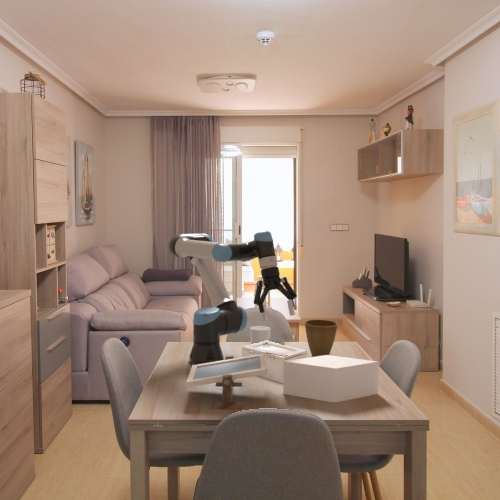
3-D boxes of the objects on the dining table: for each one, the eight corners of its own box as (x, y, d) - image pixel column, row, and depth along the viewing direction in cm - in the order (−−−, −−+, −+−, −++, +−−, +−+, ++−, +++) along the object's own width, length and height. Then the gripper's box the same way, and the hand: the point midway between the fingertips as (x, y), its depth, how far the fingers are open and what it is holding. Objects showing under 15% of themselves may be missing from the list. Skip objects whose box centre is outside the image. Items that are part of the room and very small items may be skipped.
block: (280, 386, 201) (281, 354, 200) (371, 386, 202) (372, 355, 202) (285, 402, 184) (285, 368, 183) (384, 403, 185) (385, 368, 184)
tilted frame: (187, 388, 180) (186, 382, 179) (193, 369, 201) (192, 364, 201) (268, 375, 180) (267, 369, 179) (265, 357, 201) (264, 352, 201)
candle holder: (263, 357, 241) (264, 331, 240) (245, 353, 246) (245, 328, 246) (274, 352, 250) (274, 327, 249) (256, 349, 255) (256, 324, 254)
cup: (274, 359, 237) (274, 337, 237) (288, 363, 232) (288, 341, 231) (262, 363, 232) (262, 340, 231) (275, 367, 226) (275, 344, 225)
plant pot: (300, 359, 239) (300, 324, 237) (309, 351, 252) (309, 318, 251) (332, 362, 233) (333, 327, 232) (339, 354, 247) (340, 321, 246)
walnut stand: (212, 408, 177) (212, 376, 176) (216, 382, 204) (216, 354, 204) (241, 408, 177) (241, 377, 177) (241, 382, 204) (242, 355, 204)
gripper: (248, 269, 211) (258, 321, 208) (298, 263, 224) (308, 312, 221) (239, 272, 217) (249, 323, 214) (288, 266, 230) (298, 314, 227)
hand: (279, 317), depth 217 cm, fingers open, 13 cm apart
